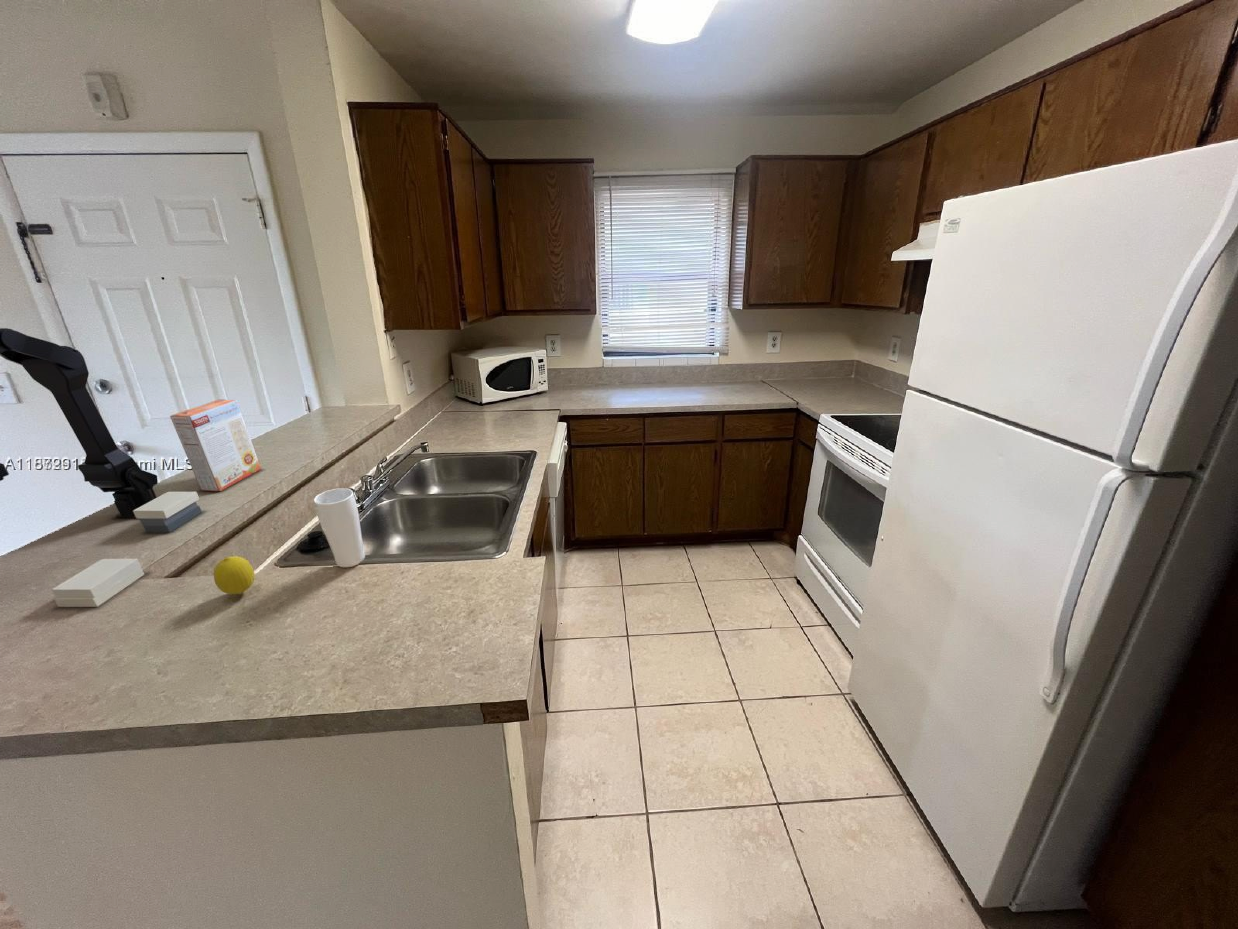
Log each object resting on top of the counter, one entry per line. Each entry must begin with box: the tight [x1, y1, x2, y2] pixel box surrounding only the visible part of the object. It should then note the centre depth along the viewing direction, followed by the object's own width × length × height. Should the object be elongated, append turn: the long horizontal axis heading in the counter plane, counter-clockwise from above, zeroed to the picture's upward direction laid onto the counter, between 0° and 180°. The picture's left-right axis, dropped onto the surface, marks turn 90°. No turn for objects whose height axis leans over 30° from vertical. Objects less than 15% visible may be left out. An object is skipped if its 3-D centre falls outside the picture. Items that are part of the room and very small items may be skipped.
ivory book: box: [133, 491, 200, 520], centre depth 107 cm, size 9×7×2 cm
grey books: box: [139, 501, 202, 534], centre depth 108 cm, size 9×5×4 cm, turn 1°
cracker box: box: [169, 398, 262, 492], centre depth 125 cm, size 14×6×21 cm, turn 174°
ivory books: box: [51, 558, 145, 608], centre depth 86 cm, size 9×7×4 cm
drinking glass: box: [313, 487, 366, 568], centre depth 93 cm, size 7×7×15 cm
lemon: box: [213, 555, 255, 595], centre depth 85 cm, size 6×6×8 cm
